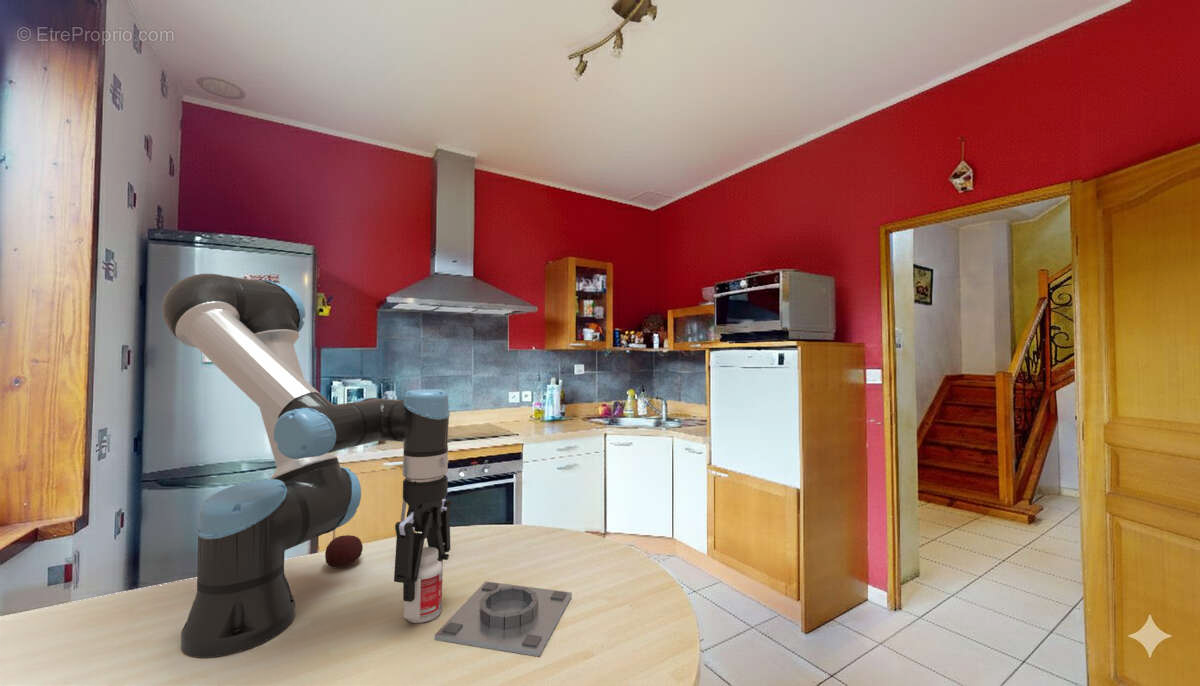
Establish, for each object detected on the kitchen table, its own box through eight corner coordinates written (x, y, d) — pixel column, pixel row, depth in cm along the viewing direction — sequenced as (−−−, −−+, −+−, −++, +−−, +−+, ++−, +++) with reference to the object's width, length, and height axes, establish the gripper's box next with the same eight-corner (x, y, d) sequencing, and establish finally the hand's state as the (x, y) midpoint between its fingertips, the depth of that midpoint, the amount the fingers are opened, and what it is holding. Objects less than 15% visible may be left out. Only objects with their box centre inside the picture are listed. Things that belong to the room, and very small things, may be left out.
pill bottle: (445, 617, 82) (446, 554, 82) (408, 628, 79) (410, 562, 79) (436, 601, 87) (437, 542, 88) (401, 611, 84) (402, 549, 84)
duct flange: (434, 639, 76) (435, 622, 76) (485, 585, 94) (485, 571, 94) (539, 656, 72) (539, 638, 72) (571, 596, 90) (571, 582, 90)
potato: (370, 556, 106) (370, 529, 106) (351, 573, 98) (351, 544, 98) (337, 556, 106) (337, 529, 106) (315, 573, 98) (316, 544, 98)
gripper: (411, 494, 73) (409, 642, 73) (471, 465, 92) (469, 582, 92) (370, 490, 75) (367, 635, 75) (436, 462, 94) (434, 578, 93)
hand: (423, 606), depth 83 cm, fingers closed on pill bottle, 6 cm apart
